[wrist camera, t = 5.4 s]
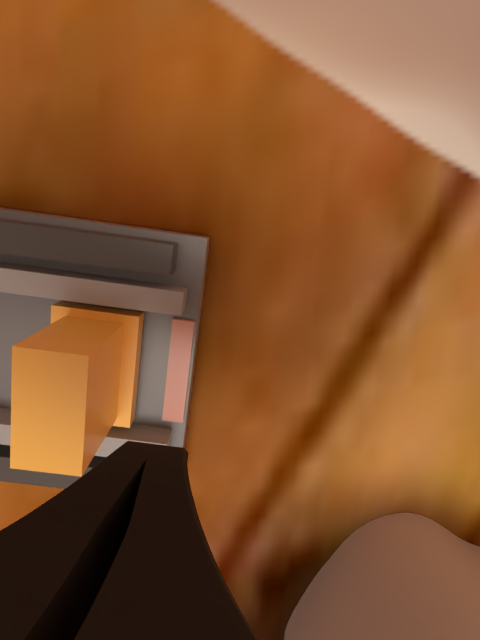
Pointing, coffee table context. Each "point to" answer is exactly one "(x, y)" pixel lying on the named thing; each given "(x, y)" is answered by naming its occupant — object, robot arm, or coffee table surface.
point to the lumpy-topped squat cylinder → (394, 586)
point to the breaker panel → (108, 291)
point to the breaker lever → (73, 386)
